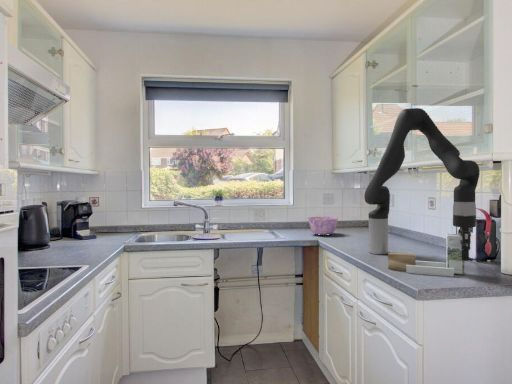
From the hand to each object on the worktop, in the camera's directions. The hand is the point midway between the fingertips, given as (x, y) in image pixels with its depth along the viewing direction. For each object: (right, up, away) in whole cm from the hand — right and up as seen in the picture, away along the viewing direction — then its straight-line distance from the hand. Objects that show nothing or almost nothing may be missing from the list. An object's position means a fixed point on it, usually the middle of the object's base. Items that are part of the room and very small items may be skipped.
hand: (464, 258), depth 135 cm
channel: (-13, -6, +6) cm, 16 cm away
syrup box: (-3, -6, +1) cm, 7 cm away
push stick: (-20, -6, +9) cm, 22 cm away
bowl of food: (-32, -5, +110) cm, 115 cm away
